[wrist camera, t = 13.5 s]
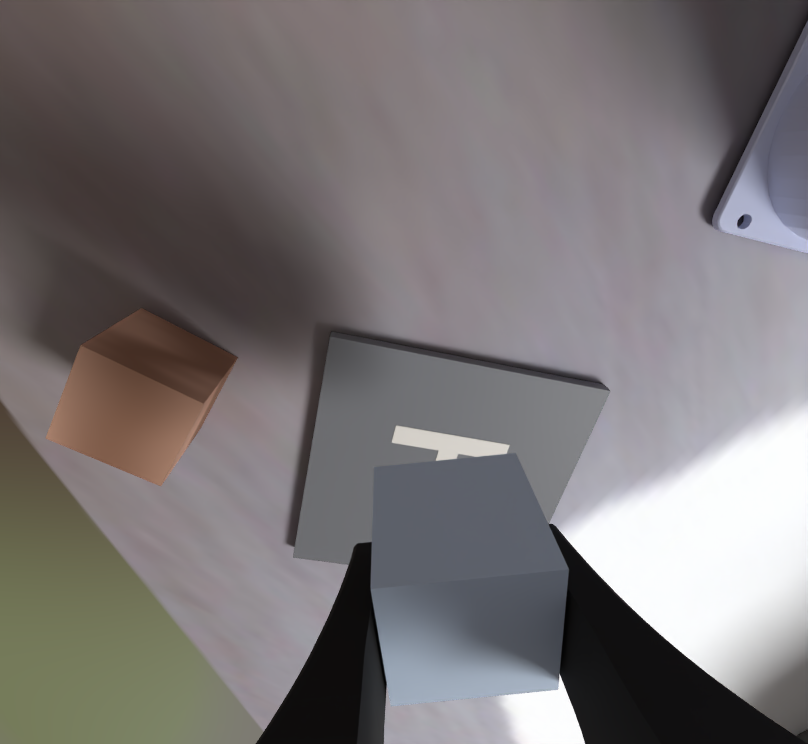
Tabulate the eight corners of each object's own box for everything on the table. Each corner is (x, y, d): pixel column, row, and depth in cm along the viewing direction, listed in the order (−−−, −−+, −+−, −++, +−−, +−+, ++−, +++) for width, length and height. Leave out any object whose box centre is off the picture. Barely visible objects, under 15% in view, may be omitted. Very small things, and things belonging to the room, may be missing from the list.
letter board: (604, 384, 20) (610, 391, 19) (516, 577, 25) (519, 587, 24) (331, 331, 18) (329, 336, 18) (295, 548, 23) (292, 557, 23)
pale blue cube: (515, 452, 13) (569, 568, 9) (514, 556, 14) (558, 689, 11) (374, 466, 13) (370, 589, 9) (388, 569, 14) (390, 706, 11)
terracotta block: (238, 356, 19) (203, 403, 15) (201, 427, 20) (160, 486, 16) (142, 307, 18) (80, 345, 14) (110, 385, 19) (45, 438, 15)
